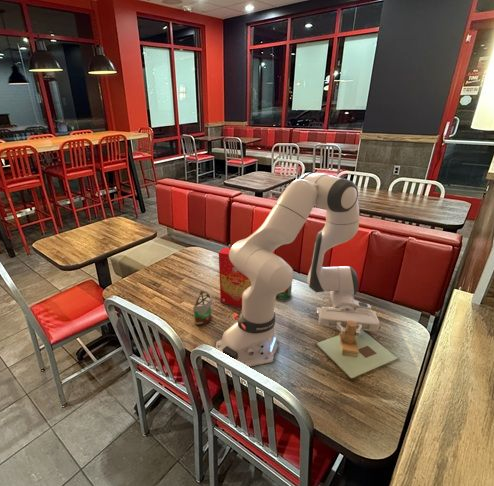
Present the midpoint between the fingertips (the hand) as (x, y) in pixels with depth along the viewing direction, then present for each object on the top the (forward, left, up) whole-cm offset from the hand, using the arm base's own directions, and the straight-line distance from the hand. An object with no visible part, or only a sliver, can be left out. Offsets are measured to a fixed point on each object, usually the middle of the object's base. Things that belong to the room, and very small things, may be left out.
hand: (350, 334), depth 106 cm
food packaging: (-22, +42, -8) cm, 48 cm away
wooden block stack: (+1, +1, -7) cm, 7 cm away
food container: (-39, +38, -8) cm, 55 cm away
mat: (+2, -2, -7) cm, 8 cm away
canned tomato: (-2, +38, -8) cm, 39 cm away
